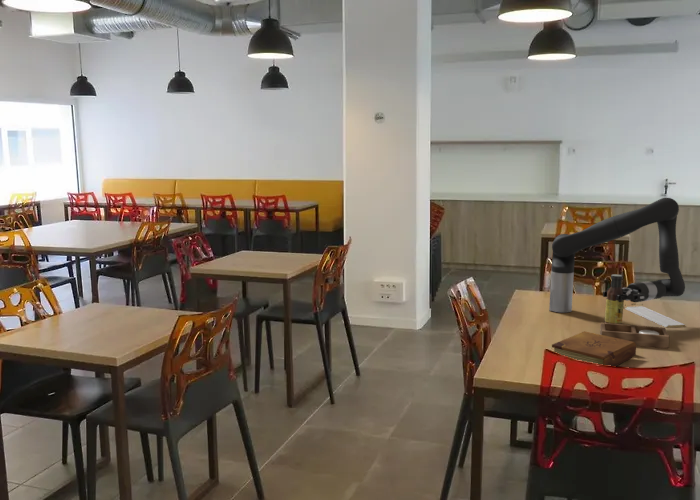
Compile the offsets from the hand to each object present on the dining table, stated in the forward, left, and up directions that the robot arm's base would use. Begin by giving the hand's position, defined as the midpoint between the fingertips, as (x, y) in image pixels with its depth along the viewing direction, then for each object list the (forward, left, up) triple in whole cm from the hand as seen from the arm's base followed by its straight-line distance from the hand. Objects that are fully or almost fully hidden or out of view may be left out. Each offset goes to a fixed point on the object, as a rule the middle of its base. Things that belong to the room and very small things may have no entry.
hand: (610, 296), depth 248 cm
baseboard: (+18, +31, -16) cm, 40 cm away
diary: (-6, -32, -15) cm, 36 cm away
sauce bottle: (+2, +2, -12) cm, 12 cm away
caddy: (+8, -9, -15) cm, 19 cm away
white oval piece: (+13, -9, -14) cm, 21 cm away
